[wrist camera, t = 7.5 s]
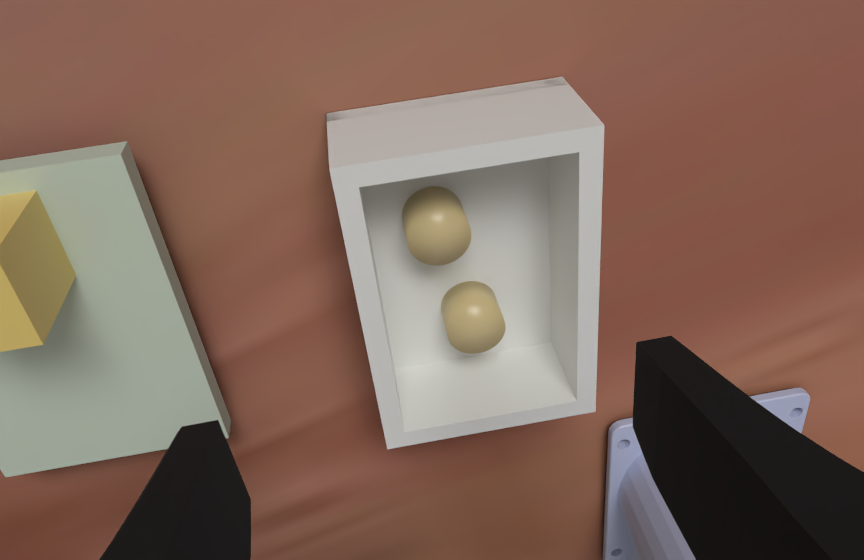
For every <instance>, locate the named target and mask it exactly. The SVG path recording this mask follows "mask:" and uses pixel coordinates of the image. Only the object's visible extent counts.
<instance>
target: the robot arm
mask: <svg viewBox="0 0 864 560" xmlns="http://www.w3.org/2000/svg"><path fill="white" fill-rule="evenodd" d="M809 403H810V396H809V395H808V393H807V392H806V391H805V390H804V389H802V388H793V389H787V390H782V391H776V392H771V393H765V394H760V395H754V396H748V395H747V394H745V393H744V392H743V391H741V390H740V389H739V388H737V387H736V386H735V385H733V384H732V383H731V382H730V381H728V380H727V379H726V378H724V377H723V376H722V375H721V374H719V373H718V372H717V371H715V370H714V369H713V368H712V367H710V366H709V365H708V364H707V363H705V362H704V361H703V360H701V359H700V358H699V357H698V356H696V355H695V354H694V353H693V352H691V351H690V350H689V349H688V348H686V347H685V346H684V345H682V344H681V343H680V342H679V341H677V340H676V339H675V338H673V337H672V336H668V337H662V338H657V339H652V340H646V341H641V342H637V343H636V364H635V385H634V405H633V418H628V419H622V420H619V421H616V422H615V423H613V424H612V425H611V426H610V428H609V431H608V452H607V474H606V496H605V518H604V540H603V560H864V472H862V471H860V470H859V469H857V468H855V467H853V466H852V465H850V464H848V463H847V462H845V461H843V460H842V459H840V458H838V457H837V456H835V455H834V454H832V453H830V452H829V451H827V450H826V449H824V448H823V447H821V446H820V445H818V444H816V443H815V442H813V441H812V440H810V439H809V438H807V437H806V436H804V435H803V434H801V433H802V429H803V426H804V422H805V418H806V414H807V410H808V407H809ZM621 440H622V441H621ZM250 557H251V499H250V497H249V494H248V492H247V489H246V487H245V484H244V482H243V480H242V477H241V475H240V472H239V470H238V467H237V465H236V462H235V460H234V458H233V455H232V453H231V450H230V448H229V445H228V443H227V440H226V438H225V436H224V433H223V431H222V428H221V426H220V423H219V421H218V420H215V421H209V422H204V423H199V424H193V425H188V426H182V427H181V428H180V430H179V431H178V432H177V434H176V436H175V437H174V439H173V441H172V443H171V444H170V446H169V448H168V450H167V451H166V453H165V455H164V456H163V458H162V460H161V462H160V463H159V465H158V467H157V469H156V470H155V472H154V474H153V475H152V477H151V479H150V480H149V482H148V484H147V485H146V487H145V489H144V490H143V492H142V494H141V496H140V497H139V499H138V500H137V502H136V504H135V505H134V507H133V508H132V510H131V512H130V513H129V515H128V516H127V518H126V520H125V521H124V523H123V524H122V526H121V528H120V529H119V531H118V532H117V534H116V535H115V537H114V539H113V540H112V542H111V543H110V545H109V546H108V548H107V549H106V551H105V552H104V554H103V555H102V556H101V558H100V559H99V560H250Z"/></svg>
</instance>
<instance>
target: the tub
mask: <svg viewBox="0 0 864 560" xmlns="http://www.w3.org/2000/svg"><path fill="white" fill-rule="evenodd" d="M326 118H327V137H328V155H329V170H330V175H331V180H332V185H333V189H334V194H335V199H336V204H337V209H338V214H339V218H340V223H341V228H342V233H343V238H344V243H345V247H346V252H347V257H348V262H349V267H350V271H351V276H352V281H353V286H354V291H355V296H356V300H357V305H358V310H359V315H360V320H361V324H362V329H363V334H364V339H365V344H366V349H367V353H368V358H369V363H370V368H371V373H372V378H373V382H374V387H375V392H376V397H377V402H378V406H379V411H380V416H381V421H382V426H383V431H384V435H385V440H386V445H387V449H392V448H397V447H403V446H408V445H414V444H420V443H425V442H431V441H436V440H442V439H447V438H453V437H458V436H464V435H469V434H475V433H480V432H486V431H491V430H497V429H502V428H508V427H514V426H519V425H525V424H530V423H536V422H541V421H547V420H552V419H558V418H563V417H569V416H574V415H580V414H585V413H591V412H596V379H597V346H598V313H599V281H600V248H601V215H602V183H603V150H604V124H603V123H602V122H601V121H600V120H599V118H598V117H597V116H596V115H595V114H594V113H593V111H592V110H591V109H590V108H589V107H588V106H587V105H586V103H585V102H584V101H583V100H582V99H581V98H580V97H579V95H578V94H577V93H576V92H575V91H574V90H573V88H572V87H571V86H570V85H569V84H568V83H567V82H566V80H565V79H564V78H563V77H558V78H551V79H545V80H539V81H532V82H526V83H519V84H513V85H506V86H500V87H493V88H487V89H481V90H474V91H468V92H461V93H455V94H448V95H442V96H435V97H429V98H423V99H416V100H410V101H403V102H397V103H390V104H384V105H377V106H371V107H365V108H358V109H352V110H345V111H339V112H332V113H326Z"/></svg>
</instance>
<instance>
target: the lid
mask: <svg viewBox="0 0 864 560" xmlns="http://www.w3.org/2000/svg"><path fill="white" fill-rule="evenodd" d="M215 420H218V421H219V423H220V426H221V428H222V431H223V433H224V436H225V438H229V434H230V425H231V419H230V416H229V414H228V411H227V408H226V406H225V403H224V400H223V397H222V395H221V392H220V389H219V387H218V384H217V381H216V379H215V376H214V373H213V371H212V368H211V365H210V362H209V360H208V357H207V354H206V352H205V349H204V346H203V344H202V341H201V338H200V336H199V333H198V330H197V327H196V325H195V322H194V319H193V317H192V314H191V311H190V309H189V306H188V303H187V301H186V298H185V295H184V293H183V290H182V287H181V284H180V282H179V279H178V276H177V274H176V271H175V268H174V266H173V263H172V260H171V258H170V255H169V252H168V249H167V247H166V244H165V241H164V239H163V236H162V233H161V231H160V228H159V225H158V223H157V220H156V217H155V214H154V212H153V209H152V206H151V204H150V201H149V198H148V196H147V193H146V190H145V188H144V185H143V182H142V179H141V177H140V174H139V171H138V169H137V166H136V163H135V161H134V158H133V155H132V153H131V150H130V147H129V144H128V142H127V141H126V142H119V143H113V144H106V145H100V146H93V147H86V148H80V149H73V150H67V151H60V152H54V153H47V154H40V155H34V156H27V157H21V158H14V159H7V160H1V161H0V470H1V471H2V473H3V474H4V476H5V477H10V476H16V475H21V474H27V473H33V472H38V471H44V470H50V469H55V468H61V467H67V466H73V465H78V464H84V463H90V462H95V461H101V460H107V459H112V458H118V457H124V456H129V455H135V454H141V453H147V452H152V451H158V450H164V449H168V448H169V446H170V444H171V443H172V441H173V439H174V437H175V436H176V434H177V432H178V431H179V430H180V428H181V427H182V426H188V425H193V424H199V423H204V422H209V421H215Z"/></svg>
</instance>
